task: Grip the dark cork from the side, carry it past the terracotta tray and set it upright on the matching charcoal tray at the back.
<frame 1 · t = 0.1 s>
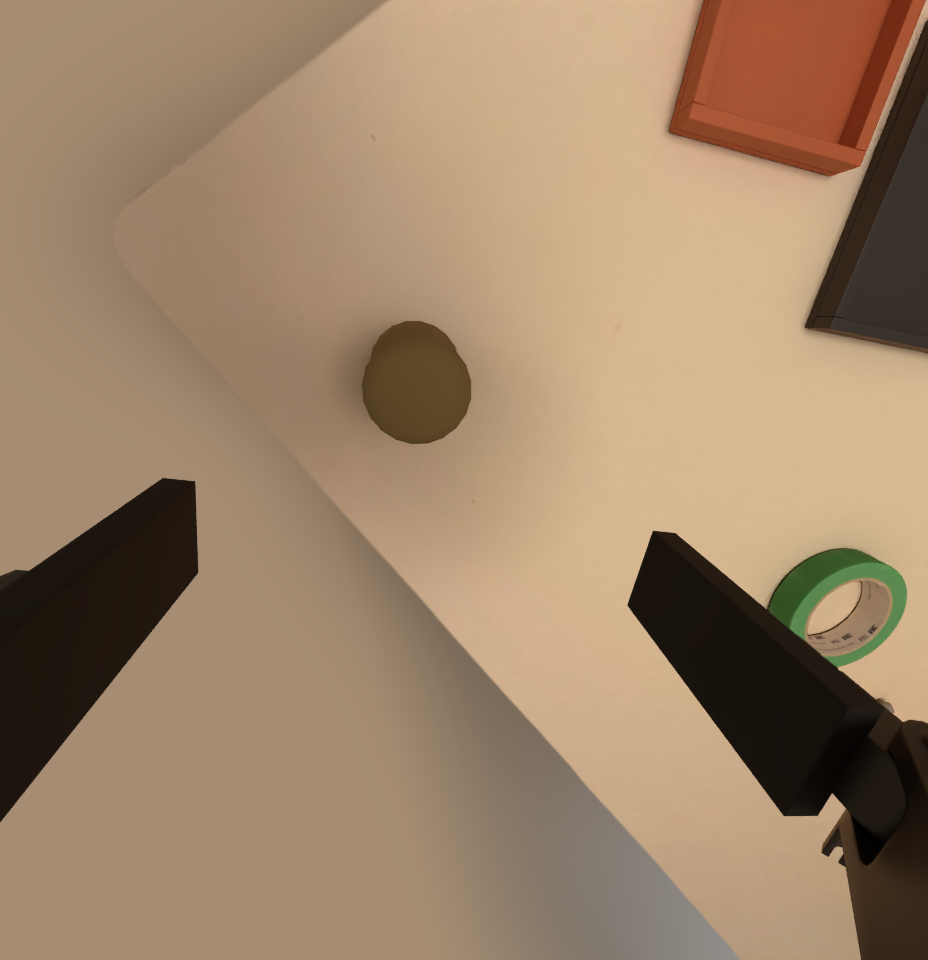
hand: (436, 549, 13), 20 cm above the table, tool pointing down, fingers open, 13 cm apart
tape roll: (821, 599, 42), on the table
cork: (415, 367, 30), on the table
terracotta tray: (789, 39, 26), on the table
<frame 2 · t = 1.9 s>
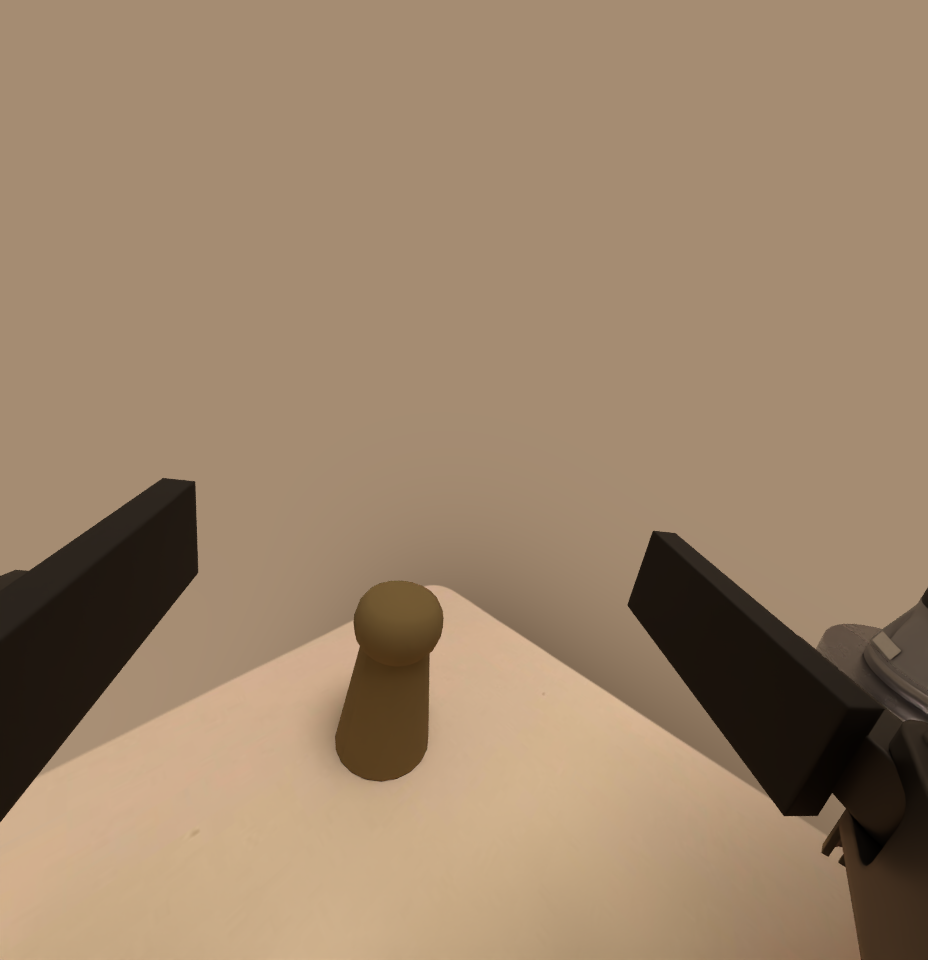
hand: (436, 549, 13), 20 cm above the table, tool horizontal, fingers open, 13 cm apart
cork: (382, 738, 30), on the table
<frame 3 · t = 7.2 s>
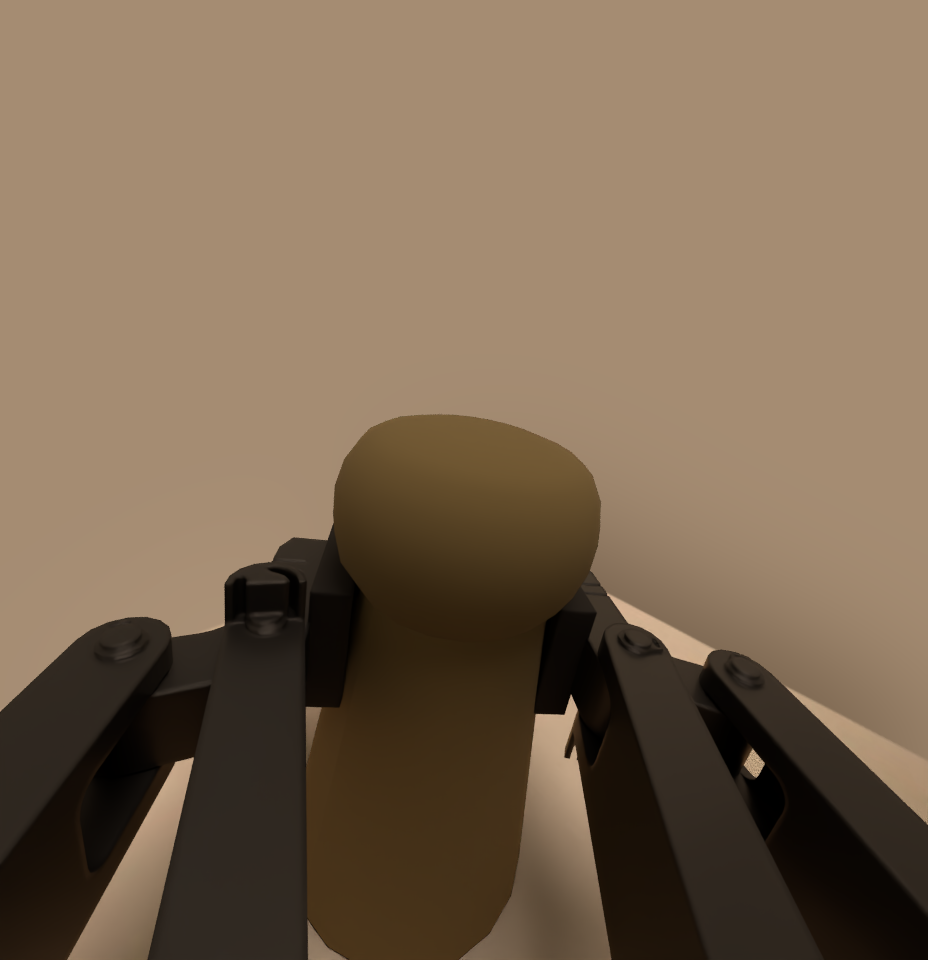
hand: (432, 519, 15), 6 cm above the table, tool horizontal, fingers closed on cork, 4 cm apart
cork: (407, 826, 12), on the table, touching gripper
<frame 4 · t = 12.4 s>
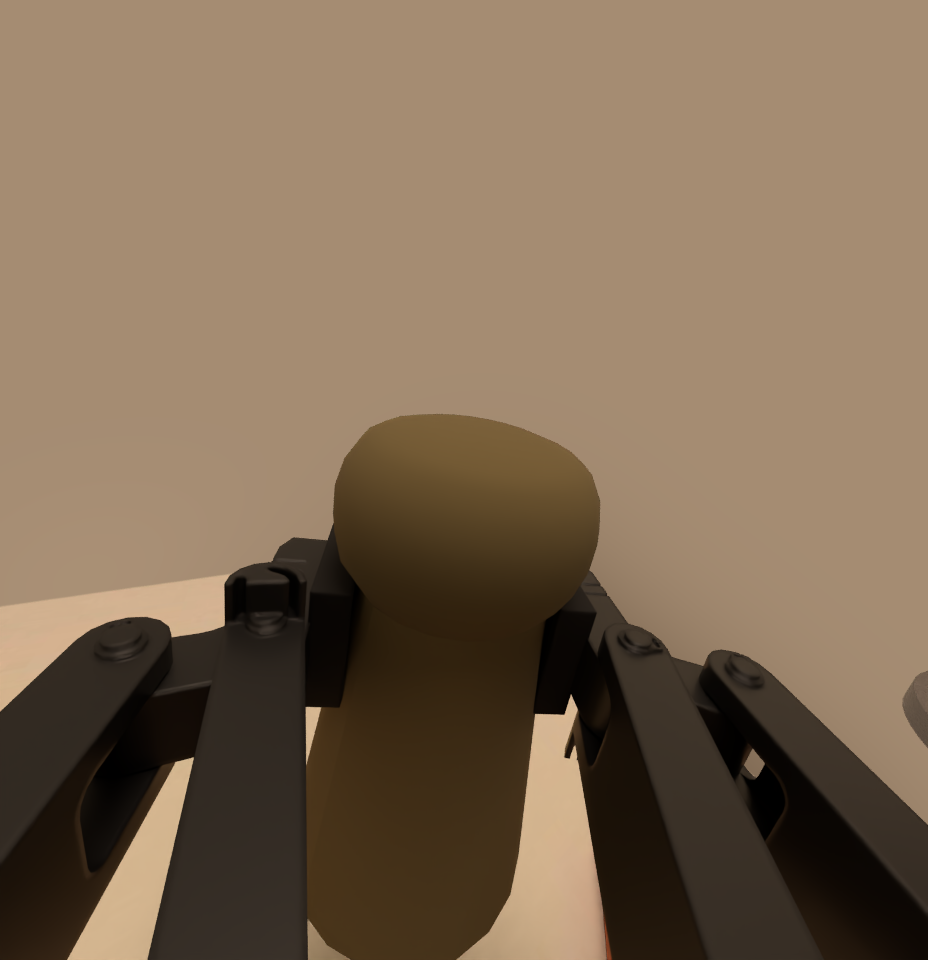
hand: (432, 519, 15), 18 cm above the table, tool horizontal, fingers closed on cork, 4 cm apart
cork: (407, 825, 12), point 11 cm above the table, touching gripper
when the fingers open (7 cm above the table, at t = 17.6 s): cork stays where it is, resting on charcoal tray.
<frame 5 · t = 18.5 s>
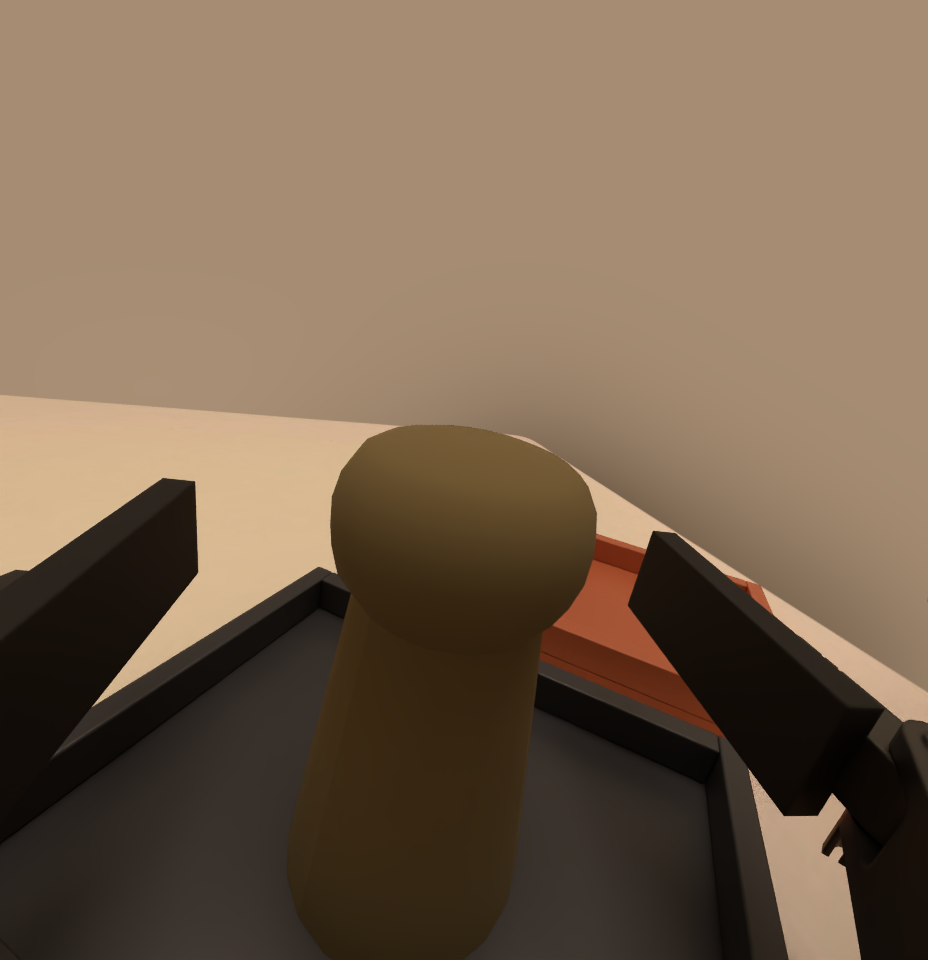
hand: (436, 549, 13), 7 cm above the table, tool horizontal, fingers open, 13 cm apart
charcoal tray: (404, 842, 12), on the table
cork: (404, 833, 12), resting on charcoal tray
terracotta tray: (645, 630, 24), on the table
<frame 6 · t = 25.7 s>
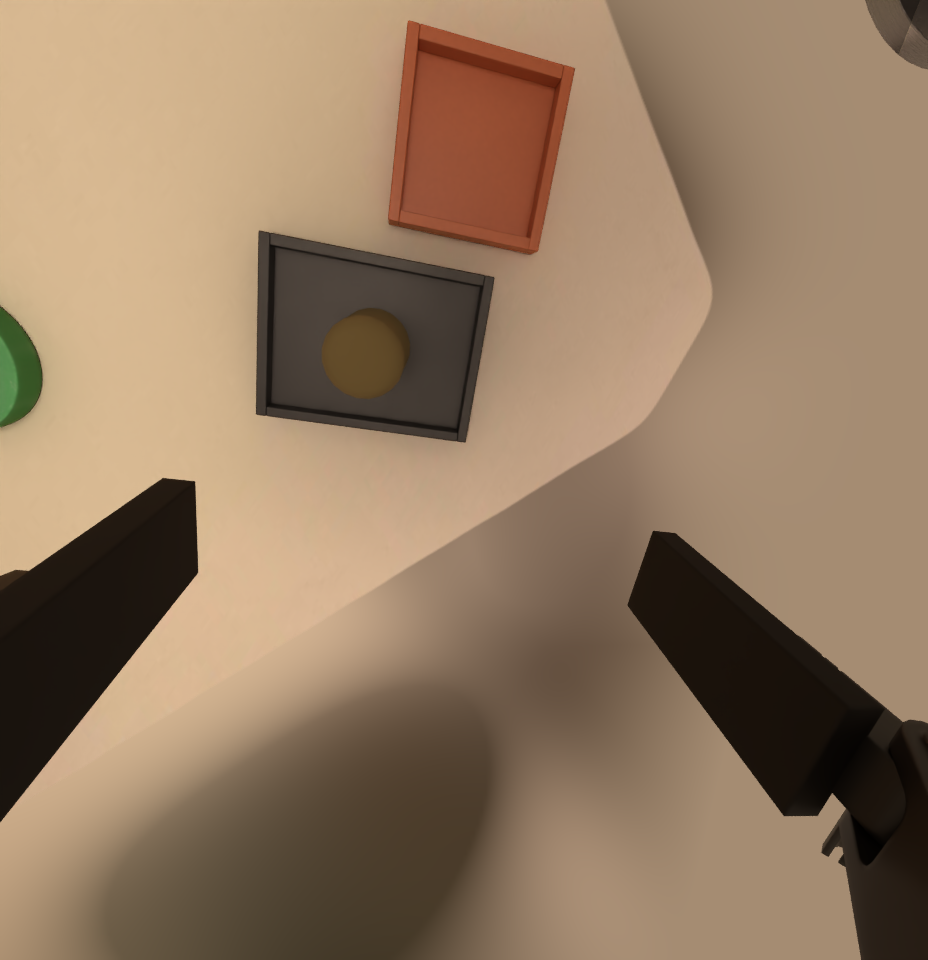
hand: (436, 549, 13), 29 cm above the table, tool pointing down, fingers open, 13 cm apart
charcoal tray: (374, 345, 38), on the table
cork: (373, 346, 38), resting on charcoal tray
terracotta tray: (474, 155, 34), on the table
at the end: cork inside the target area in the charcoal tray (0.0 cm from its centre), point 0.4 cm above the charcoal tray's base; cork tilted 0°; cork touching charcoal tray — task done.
